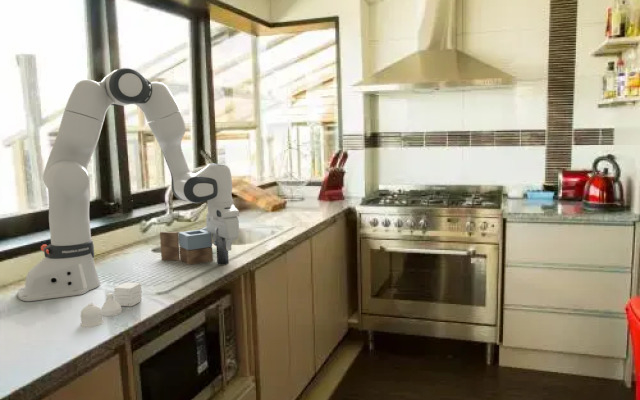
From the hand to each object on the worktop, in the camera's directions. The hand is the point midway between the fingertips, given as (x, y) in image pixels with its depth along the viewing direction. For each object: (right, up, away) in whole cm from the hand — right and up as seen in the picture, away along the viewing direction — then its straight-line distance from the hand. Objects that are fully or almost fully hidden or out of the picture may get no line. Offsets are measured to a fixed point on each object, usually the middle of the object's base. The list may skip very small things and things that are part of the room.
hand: (222, 247), depth 184 cm
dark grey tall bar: (0, -6, +1) cm, 6 cm away
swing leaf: (-10, -4, +9) cm, 14 cm away
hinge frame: (-14, -5, +6) cm, 16 cm away
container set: (-20, -13, -48) cm, 53 cm away
